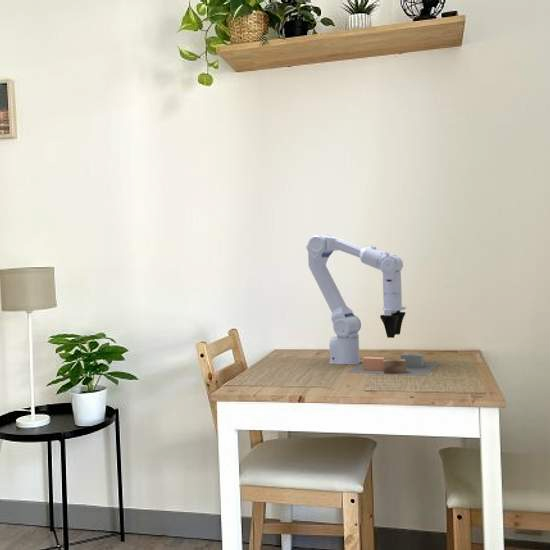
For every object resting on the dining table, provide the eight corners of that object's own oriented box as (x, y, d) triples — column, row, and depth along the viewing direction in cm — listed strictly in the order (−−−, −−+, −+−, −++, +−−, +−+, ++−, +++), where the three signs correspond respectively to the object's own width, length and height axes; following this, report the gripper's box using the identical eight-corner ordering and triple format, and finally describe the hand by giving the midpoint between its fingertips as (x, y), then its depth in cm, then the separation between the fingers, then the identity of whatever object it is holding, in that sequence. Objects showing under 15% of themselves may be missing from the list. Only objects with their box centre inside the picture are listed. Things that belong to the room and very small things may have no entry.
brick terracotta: (362, 370, 191) (362, 358, 191) (365, 368, 194) (365, 356, 194) (383, 370, 188) (382, 359, 188) (385, 368, 191) (385, 357, 191)
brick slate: (401, 366, 194) (400, 355, 194) (403, 364, 197) (402, 353, 197) (421, 367, 191) (421, 355, 191) (423, 365, 194) (423, 354, 194)
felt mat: (346, 373, 189) (346, 372, 189) (364, 362, 207) (364, 361, 207) (426, 377, 179) (426, 375, 179) (438, 364, 197) (438, 363, 197)
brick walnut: (384, 373, 184) (383, 361, 184) (383, 371, 187) (382, 359, 187) (406, 373, 184) (405, 360, 183) (404, 371, 187) (404, 359, 187)
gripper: (399, 294, 190) (401, 339, 191) (409, 291, 203) (411, 333, 204) (377, 295, 193) (378, 338, 193) (388, 292, 206) (389, 332, 207)
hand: (393, 336), depth 199 cm, fingers open, 7 cm apart
